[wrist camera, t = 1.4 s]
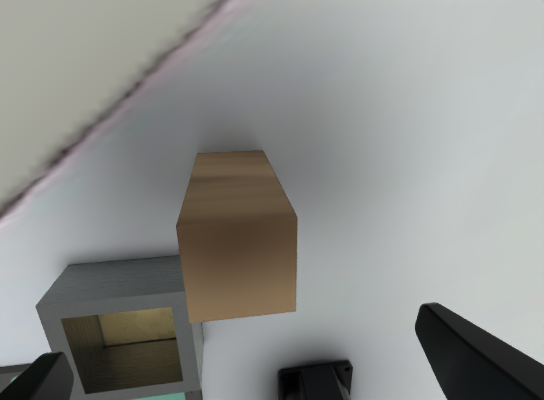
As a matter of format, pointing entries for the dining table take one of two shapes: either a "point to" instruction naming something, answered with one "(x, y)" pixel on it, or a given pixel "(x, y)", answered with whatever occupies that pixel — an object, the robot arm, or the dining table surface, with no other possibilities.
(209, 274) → the rail post
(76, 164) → the dining table surface
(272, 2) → the dining table surface
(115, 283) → the gray open box
